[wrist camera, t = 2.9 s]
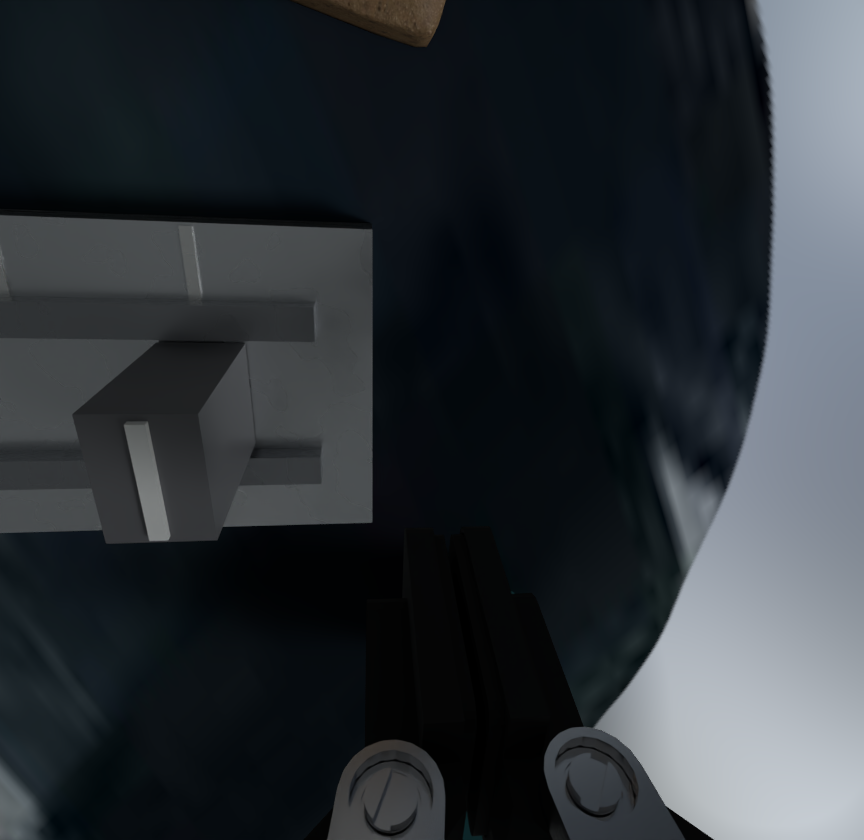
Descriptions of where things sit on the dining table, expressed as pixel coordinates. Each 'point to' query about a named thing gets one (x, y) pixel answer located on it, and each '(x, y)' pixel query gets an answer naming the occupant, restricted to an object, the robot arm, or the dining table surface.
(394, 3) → the candle holder
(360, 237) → the console
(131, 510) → the fader tab
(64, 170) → the dining table surface
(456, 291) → the dining table surface
